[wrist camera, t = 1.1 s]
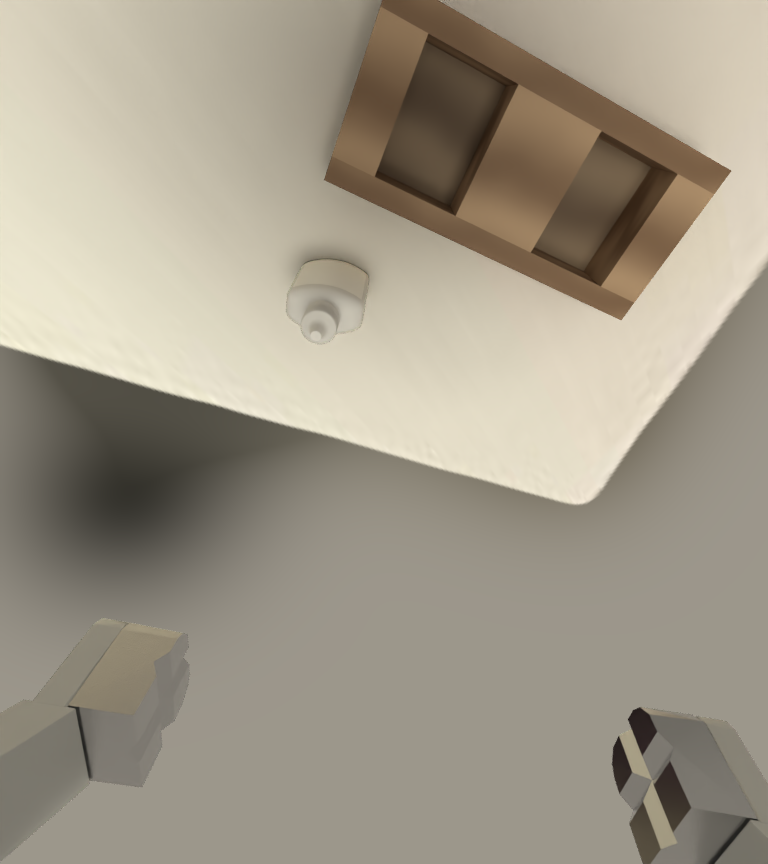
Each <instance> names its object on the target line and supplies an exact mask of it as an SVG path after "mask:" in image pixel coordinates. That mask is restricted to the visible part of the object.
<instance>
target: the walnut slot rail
mask: <svg viewBox="0 0 768 864" xmlns="http://www.w3.org/2000/svg"><path fill="white" fill-rule="evenodd" d="M730 172H731V170H729V169H727V168H726V167H724V166H722V165H720V164H719V163H717V162H715V161H714V160H712V159H710V158H708V157H707V156H705V155H703V154H702V153H700V152H698V151H696V150H695V149H693V148H691V147H689V146H688V145H686V144H684V143H683V142H681V141H679V140H677V139H676V138H674V137H672V136H671V135H669V134H667V133H665V132H664V131H662V130H660V129H659V128H657V127H655V126H653V125H652V124H650V123H648V122H646V121H645V120H643V119H641V118H640V117H638V116H636V115H634V114H633V113H631V112H629V111H628V110H626V109H624V108H622V107H621V106H619V105H617V104H615V103H614V102H612V101H610V100H609V99H607V98H605V97H603V96H602V95H600V94H598V93H597V92H595V91H593V90H591V89H590V88H588V87H586V86H585V85H583V84H581V83H579V82H578V81H576V80H574V79H572V78H571V77H569V76H567V75H566V74H564V73H562V72H560V71H559V70H557V69H555V68H554V67H552V66H550V65H548V64H547V63H545V62H543V61H542V60H540V59H538V58H536V57H535V56H533V55H531V54H529V53H528V52H526V51H524V50H523V49H521V48H519V47H517V46H516V45H514V44H512V43H511V42H509V41H507V40H505V39H504V38H502V37H500V36H498V35H497V34H495V33H493V32H492V31H490V30H488V29H486V28H485V27H483V26H481V25H480V24H478V23H476V22H474V21H473V20H471V19H469V18H468V17H466V16H464V15H462V14H461V13H459V12H457V11H455V10H454V9H452V8H450V7H449V6H447V5H445V4H443V3H442V2H440V1H438V0H382V3H381V6H380V9H379V12H378V15H377V18H376V22H375V25H374V28H373V31H372V34H371V37H370V40H369V43H368V46H367V49H366V52H365V55H364V58H363V62H362V65H361V68H360V71H359V74H358V77H357V80H356V83H355V86H354V89H353V92H352V95H351V99H350V102H349V105H348V108H347V111H346V114H345V117H344V120H343V123H342V126H341V129H340V132H339V135H338V139H337V142H336V145H335V148H334V151H333V154H332V157H331V160H330V163H329V166H328V169H327V172H326V175H325V179H324V180H325V181H327V182H330V183H332V184H334V185H336V186H338V187H340V188H342V189H344V190H346V191H349V192H351V193H353V194H355V195H357V196H359V197H361V198H363V199H366V200H368V201H370V202H372V203H374V204H376V205H378V206H380V207H382V208H385V209H387V210H389V211H391V212H393V213H395V214H397V215H399V216H401V217H404V218H406V219H408V220H410V221H412V222H414V223H416V224H418V225H421V226H423V227H425V228H427V229H429V230H431V231H433V232H435V233H437V234H440V235H442V236H444V237H446V238H448V239H450V240H452V241H454V242H456V243H459V244H461V245H463V246H465V247H467V248H469V249H471V250H473V251H476V252H478V253H480V254H482V255H484V256H486V257H488V258H490V259H492V260H495V261H497V262H499V263H501V264H503V265H505V266H507V267H509V268H512V269H514V270H516V271H518V272H520V273H522V274H524V275H526V276H528V277H531V278H533V279H535V280H537V281H539V282H541V283H543V284H545V285H547V286H550V287H552V288H554V289H556V290H558V291H560V292H562V293H564V294H567V295H569V296H571V297H573V298H575V299H577V300H579V301H581V302H583V303H586V304H588V305H590V306H592V307H594V308H596V309H598V310H600V311H602V312H605V313H607V314H609V315H611V316H613V317H615V318H617V319H619V320H622V319H623V317H624V316H625V314H626V313H627V312H628V310H629V309H630V308H631V306H632V305H633V304H634V302H635V301H636V300H637V298H638V297H639V295H640V294H641V293H642V291H643V290H644V289H645V287H646V286H647V285H648V283H649V282H650V281H651V279H652V278H653V277H654V275H655V274H656V272H657V271H658V270H659V268H660V267H661V266H662V264H663V263H664V262H665V260H666V259H667V258H668V256H669V255H670V253H671V252H672V251H673V249H674V248H675V247H676V245H677V244H678V243H679V241H680V240H681V239H682V237H683V236H684V234H685V233H686V232H687V230H688V229H689V228H690V226H691V225H692V224H693V222H694V221H695V220H696V218H697V217H698V215H699V214H700V213H701V211H702V210H703V209H704V207H705V206H706V205H707V203H708V202H709V201H710V199H711V198H712V197H713V195H714V194H715V192H716V191H717V190H718V188H719V187H720V186H721V184H722V183H723V182H724V180H725V179H726V178H727V176H728V175H729V173H730Z"/></svg>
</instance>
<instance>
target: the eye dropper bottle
mask: <svg viewBox="0 0 768 864" xmlns="http://www.w3.org/2000/svg"><path fill="white" fill-rule="evenodd" d="M368 285H369V277H368V275H367V274H366V273H365V272H364V271H363V270H361V269H359V268H358V267H356V266H354V265H352V264H349V263H346V262H343V261H339V260H332V259H321V260H314V261H310V262H307V263H305V264H304V265H303V266H302V268H301V269H300V271H299V273H298V274H297V276H296V278H295V280H294V282H293V283H292V285H291V287H290V289H289V291H288V294H287V302H286V313H287V316H288V317H289V318H290V319H291V320H292V321H294V322H295V323H297V324H298V325H300V327H301V331H302V334H303V335H304V336H305V337H306V339H307V340H309V341H310V342H312V343H315V344H325V343H328V342H330V341H331V340H333V338H334V337H335V335H336V334H343V333H348V332H352V331H355V330H357V329H358V328H360V326H361V324H362V321H363V316H364V310H365V304H366V298H367V292H368Z"/></svg>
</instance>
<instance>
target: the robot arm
mask: <svg viewBox="0 0 768 864" xmlns="http://www.w3.org/2000/svg"><path fill="white" fill-rule="evenodd" d="M188 647H189V646H188V635H187V634H185V633H180V632H175V631H170V630H164V629H159V628H154V627H148V626H144V625H139V624H134V623H127V622H122V621H117V620H110V619H105V618H102V619H101V620H99V621H98V622H96V623H95V624H94V625H92V627H91V628H90V629H89V630H88V632H87V633H86V634H85V635H84V637H83V638H82V639H81V641H80V642H79V643H78V644H77V646H76V647H75V648H74V649H73V650H72V652H71V653H70V654H69V656H68V657H67V658H66V659H65V661H64V662H63V663H62V664H61V666H60V667H59V668H58V669H57V671H56V672H55V673H54V675H53V676H52V677H51V678H50V680H49V681H48V682H47V683H46V685H45V686H44V687H43V689H42V690H41V691H40V692H39V693H38V695H37V696H36V697H35V699H34V700H33V701H29V700H22V701H20V702H19V703H17V704H15V705H14V706H12V707H10V708H8V709H7V710H5V711H3V712H1V713H0V862H1V861H2V860H3V859H5V858H6V857H7V856H8V855H9V854H10V853H11V852H12V851H13V850H15V849H16V848H17V847H18V846H19V845H21V844H22V843H23V842H24V841H25V840H26V839H27V838H29V837H30V836H31V835H32V834H33V833H34V832H36V831H37V830H38V829H39V828H40V827H41V826H42V825H43V824H45V823H46V822H47V821H48V820H49V819H50V818H52V817H53V816H54V815H55V814H56V813H57V812H58V811H60V810H61V809H62V808H63V807H64V806H65V805H67V804H68V803H69V802H70V801H71V800H72V799H73V798H75V797H76V796H77V795H78V794H79V793H80V792H81V791H83V790H84V789H85V788H86V787H87V786H88V785H89V784H90V781H89V780H91V781H98V782H105V783H113V784H120V785H128V786H135V787H143V785H144V783H145V780H146V778H147V776H148V774H149V772H150V770H151V768H152V766H153V764H154V762H155V760H156V758H157V756H158V754H159V752H160V750H161V747H162V737H161V730H162V729H164V728H165V727H167V726H168V725H169V724H170V723H172V722H173V721H174V720H175V719H176V716H177V714H178V712H179V710H180V708H181V706H182V703H183V700H184V697H185V694H186V690H187V687H188V680H189V664H188V662H187V661H186V660H185V659H184V658H183V657H184V655H185V653H186V651H187V649H188ZM628 721H629V724H630V726H631V729H630V730H628V731H626V732H624V733H622V734H621V735H619V736H618V738H617V741H616V743H615V745H614V747H613V758H612V766H613V772H614V778H615V781H616V785H617V788H618V791H619V794H620V795H621V796H622V798H623V799H624V800H625V801H626V802H627V803H628V804H629V806H630V807H631V808H632V809H633V813H632V816H631V820H630V827H631V830H632V833H633V836H634V839H635V842H636V845H637V848H638V851H639V854H640V856H641V860H642V862H643V864H768V783H767V782H766V780H765V778H764V777H763V775H762V773H761V772H760V770H759V768H758V767H757V765H756V763H755V762H754V760H753V758H752V757H751V755H750V753H749V752H748V750H747V748H746V747H745V745H744V743H743V742H742V740H741V738H740V737H739V735H738V733H737V732H736V730H735V729H734V728H733V727H732V726H731V725H730V724H729V723H728V722H727V721H723V720H718V719H711V718H705V717H699V716H693V715H690V714H683V713H677V712H671V711H663V710H657V709H650V708H643V707H639V708H637V709H635V710H633V711H632V713H631V715H630V717H629V718H628Z"/></svg>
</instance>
